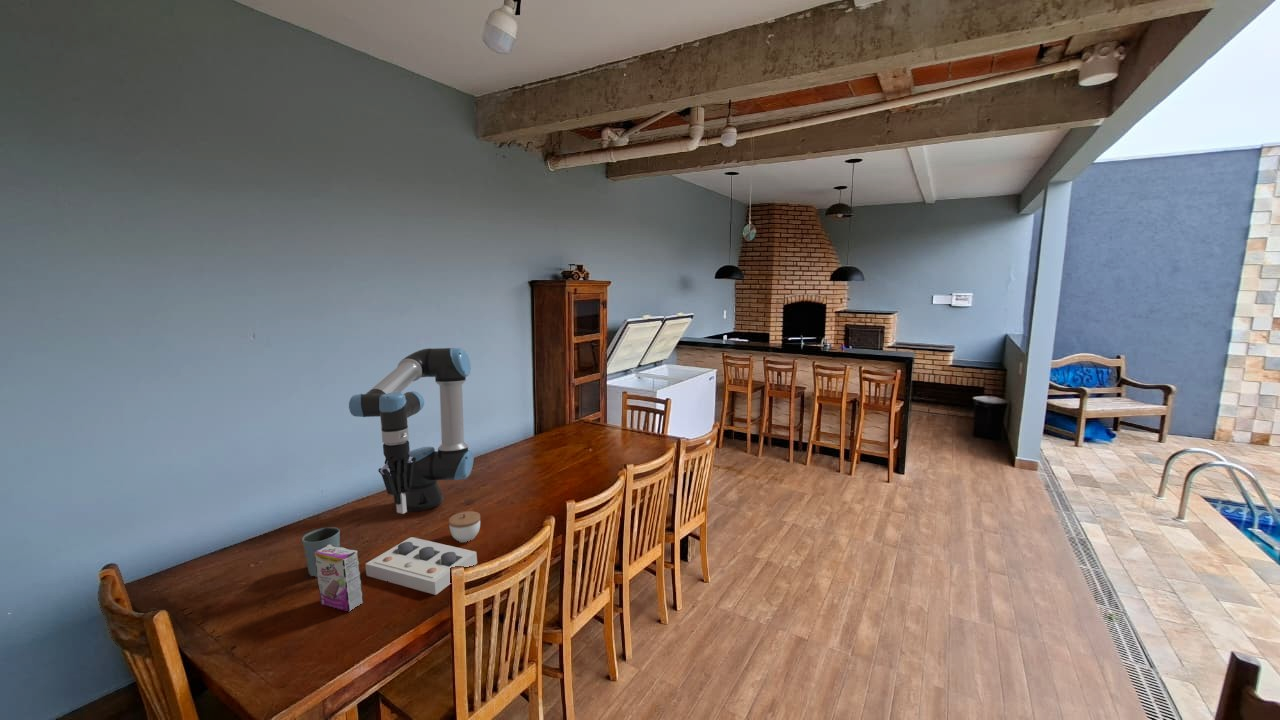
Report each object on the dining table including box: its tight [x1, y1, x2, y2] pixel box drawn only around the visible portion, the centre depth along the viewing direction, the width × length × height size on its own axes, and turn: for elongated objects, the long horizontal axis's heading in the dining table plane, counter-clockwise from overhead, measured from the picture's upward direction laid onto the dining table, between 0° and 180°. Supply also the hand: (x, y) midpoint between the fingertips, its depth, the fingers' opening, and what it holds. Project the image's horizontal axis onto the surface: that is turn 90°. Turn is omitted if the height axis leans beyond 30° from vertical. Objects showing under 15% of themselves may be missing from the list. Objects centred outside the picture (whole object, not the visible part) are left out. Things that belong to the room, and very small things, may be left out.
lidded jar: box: [448, 510, 481, 543], centre depth 179 cm, size 11×11×9 cm
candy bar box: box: [314, 545, 364, 613], centre depth 141 cm, size 11×5×16 cm, turn 71°
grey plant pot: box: [301, 526, 341, 578], centre depth 160 cm, size 10×10×12 cm
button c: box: [441, 552, 456, 567], centre depth 158 cm, size 4×4×3 cm
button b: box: [419, 547, 434, 561], centre depth 161 cm, size 4×4×3 cm
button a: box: [397, 542, 413, 556], centre depth 164 cm, size 4×4×3 cm
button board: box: [365, 536, 478, 596], centre depth 160 cm, size 18×28×4 cm, turn 68°
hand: (401, 512), depth 162 cm, fingers closed
